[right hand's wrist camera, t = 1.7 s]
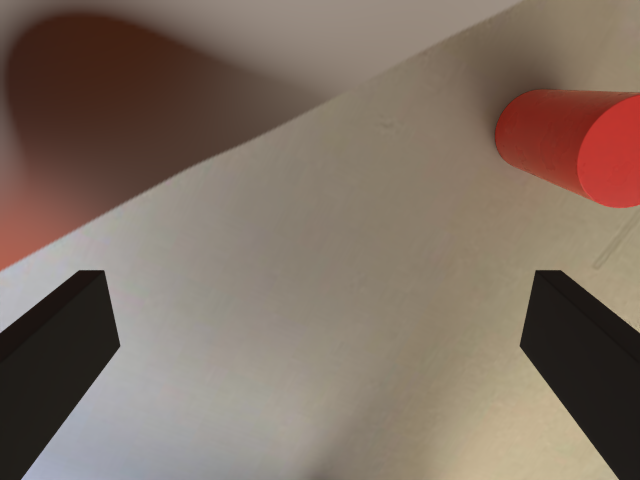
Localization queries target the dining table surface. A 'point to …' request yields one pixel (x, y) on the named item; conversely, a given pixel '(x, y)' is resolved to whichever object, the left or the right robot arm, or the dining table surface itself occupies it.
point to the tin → (576, 142)
